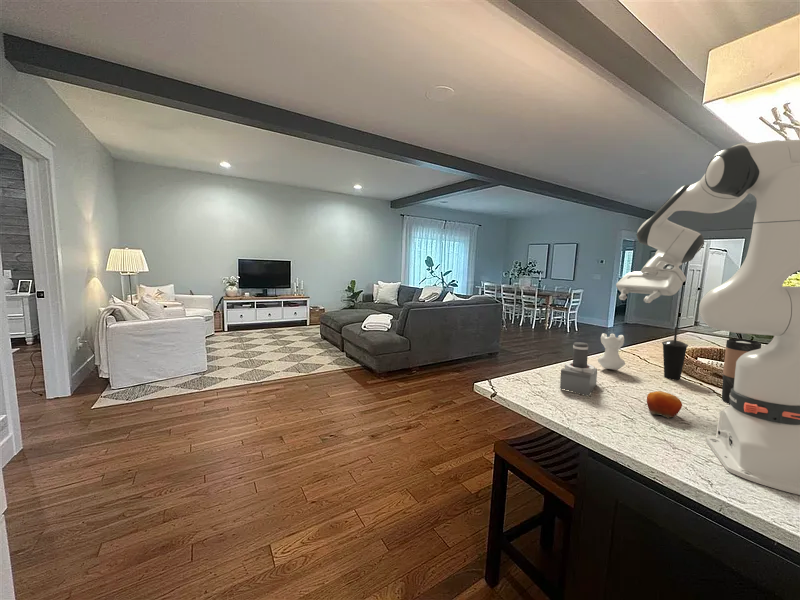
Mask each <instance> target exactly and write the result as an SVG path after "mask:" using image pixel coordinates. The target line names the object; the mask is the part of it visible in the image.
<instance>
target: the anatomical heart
mask: <svg viewBox="0 0 800 600" xmlns="http://www.w3.org/2000/svg"><path fill="white" fill-rule="evenodd" d="M600 343H601V345H603V347H604V352H603V354H602V355H600V356H599V357H598V358H597V362H598V363H599V365H600V366H601V367H602V368H603V369H608V370H614V371H615V370H616V371H618V370H621V368H622V367H623V368H624V366H625V365H626V362H625V360H623V358H622V357H620V354H619V350H620V349H621V348H622V347H623V345H624V344H625V336H624V335H623V334H619V335H618V336H617V337H616V333H610V334H609V336H608V335H607V333H603V332H602V333H601V336H600Z"/></svg>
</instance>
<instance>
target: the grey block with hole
mask: <svg viewBox="0 0 800 600" xmlns="http://www.w3.org/2000/svg"><path fill="white" fill-rule="evenodd" d="M597 373H598V368H596V367H595V366H594V365H592V364H590V363H587V368H578V367H573V361H567V362H566V363H565V364H564V368H561V369H560V381H559V385H560V386H559V389H560V388H561V389H565V390H569V391H573V392H576V393H575V394H577V393H580V394H579V395H582V394H584V395H583V396H586V395H588V396H587V397H589V396H590V395H591V394H590V393H592V392H593V391H594V389H595V387H596V386H597V379H598V377H597V376H598V374H597ZM595 385H596V386H595ZM593 388H594V389H593Z"/></svg>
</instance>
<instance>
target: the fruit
mask: <svg viewBox="0 0 800 600" xmlns="http://www.w3.org/2000/svg"><path fill="white" fill-rule="evenodd" d="M646 406H647V407H648V411H649V412H650V413H651V414H652V416H655V415H660V416H663V417H666V418H667V419H668V420H670V418H674V417H675V416H677V415H678V413H680V411H681V410H682V408H683V404H682V401H681V399H680V398H679V397H677V396H676V395H674V394H671V393H669V392H665V391H662V390H657V391H652V392H649V393H648V394H647V396H646Z"/></svg>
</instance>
